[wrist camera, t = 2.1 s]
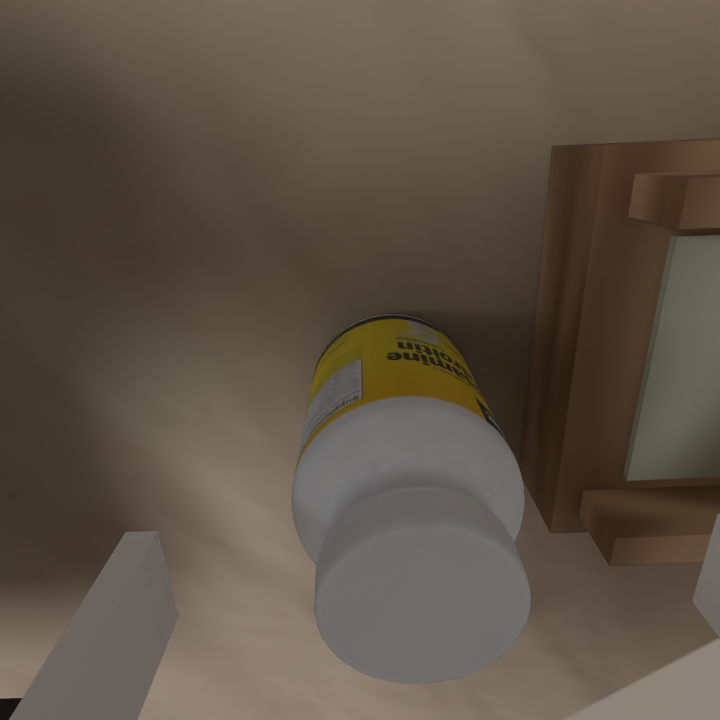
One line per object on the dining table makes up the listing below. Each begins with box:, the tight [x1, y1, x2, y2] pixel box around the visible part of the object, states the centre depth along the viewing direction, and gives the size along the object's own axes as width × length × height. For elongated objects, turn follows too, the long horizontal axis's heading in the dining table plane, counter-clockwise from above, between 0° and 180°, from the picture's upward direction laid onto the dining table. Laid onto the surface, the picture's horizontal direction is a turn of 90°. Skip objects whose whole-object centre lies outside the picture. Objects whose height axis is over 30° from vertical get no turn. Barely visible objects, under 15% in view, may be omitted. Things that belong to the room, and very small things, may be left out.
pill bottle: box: [292, 314, 531, 683], centre depth 16 cm, size 6×6×12 cm
